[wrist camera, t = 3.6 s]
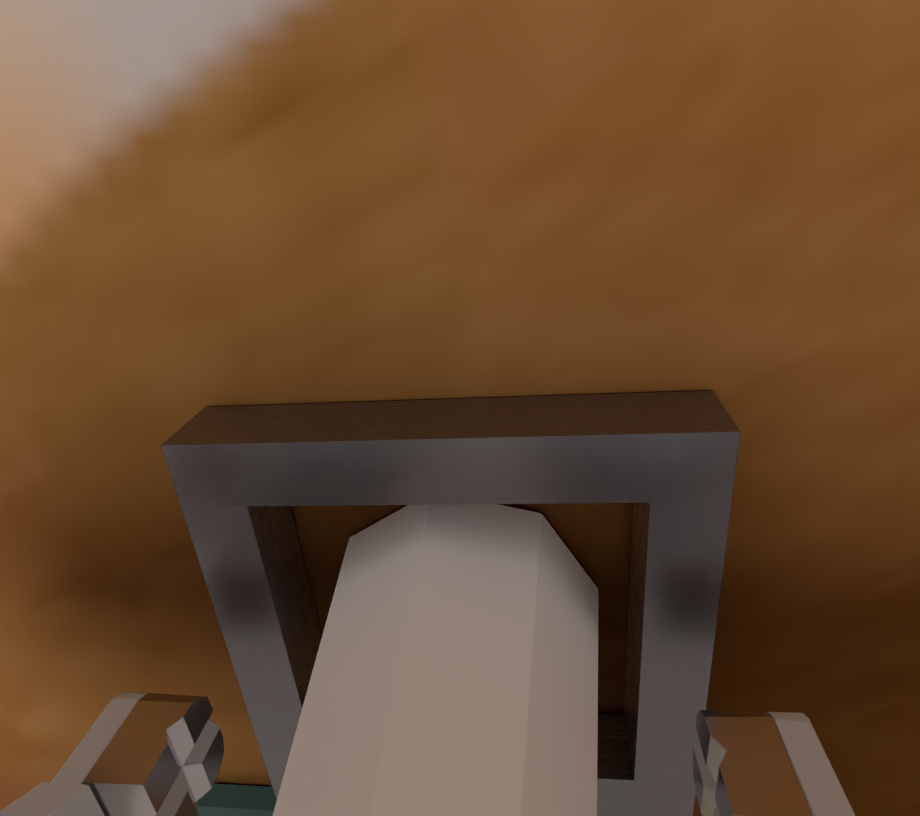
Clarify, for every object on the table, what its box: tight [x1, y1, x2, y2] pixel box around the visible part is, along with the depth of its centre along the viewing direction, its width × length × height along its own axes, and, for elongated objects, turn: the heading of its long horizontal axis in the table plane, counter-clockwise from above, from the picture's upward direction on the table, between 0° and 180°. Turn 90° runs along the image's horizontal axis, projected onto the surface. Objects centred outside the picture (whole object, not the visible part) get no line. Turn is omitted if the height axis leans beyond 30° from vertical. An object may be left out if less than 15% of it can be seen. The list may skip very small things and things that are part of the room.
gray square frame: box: [161, 390, 740, 816], centre depth 12 cm, size 9×9×2 cm
